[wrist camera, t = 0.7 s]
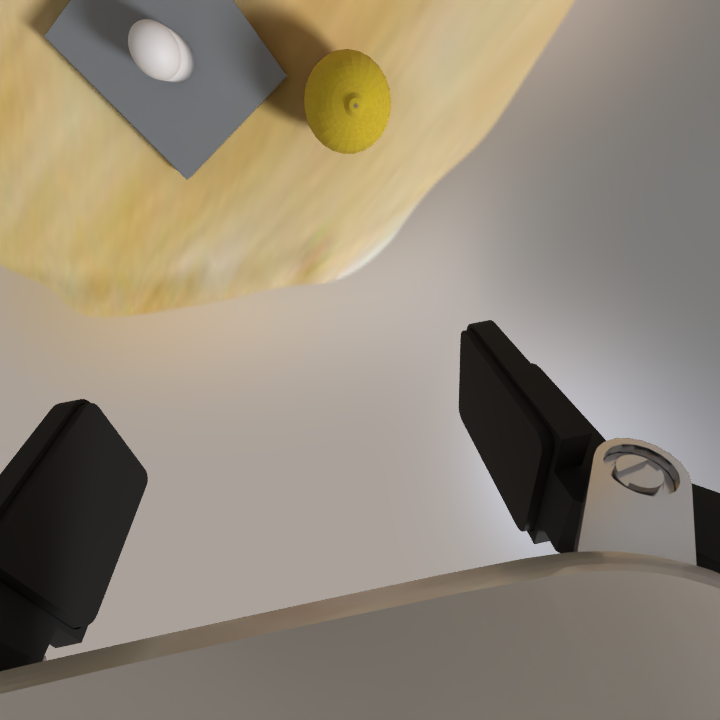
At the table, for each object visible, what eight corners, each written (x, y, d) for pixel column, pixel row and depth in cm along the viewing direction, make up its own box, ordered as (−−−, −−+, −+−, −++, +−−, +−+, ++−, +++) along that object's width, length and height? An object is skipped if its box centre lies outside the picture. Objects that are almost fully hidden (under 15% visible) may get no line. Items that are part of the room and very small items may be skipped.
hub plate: (160, -101, 21) (116, -168, 16) (287, 76, 26) (285, 70, 21) (57, 40, 24) (-9, 22, 18) (191, 176, 29) (169, 192, 24)
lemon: (308, 150, 29) (312, 164, 22) (297, 58, 26) (298, 43, 19) (379, 144, 29) (403, 156, 23) (376, 53, 26) (404, 37, 20)
